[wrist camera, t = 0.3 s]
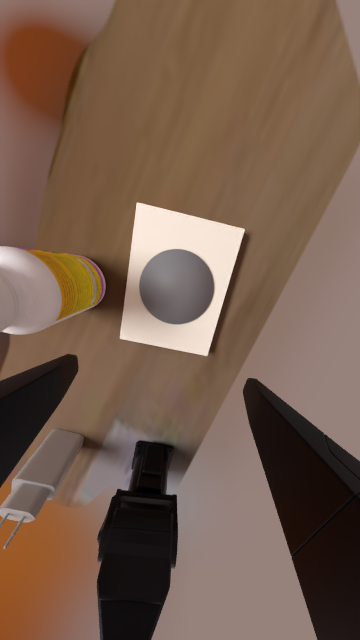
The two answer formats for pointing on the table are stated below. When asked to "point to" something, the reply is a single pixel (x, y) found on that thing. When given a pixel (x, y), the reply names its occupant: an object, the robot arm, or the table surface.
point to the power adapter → (41, 477)
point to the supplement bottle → (45, 288)
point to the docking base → (177, 279)
